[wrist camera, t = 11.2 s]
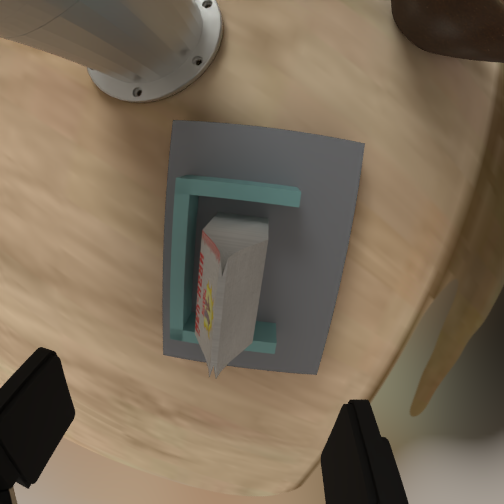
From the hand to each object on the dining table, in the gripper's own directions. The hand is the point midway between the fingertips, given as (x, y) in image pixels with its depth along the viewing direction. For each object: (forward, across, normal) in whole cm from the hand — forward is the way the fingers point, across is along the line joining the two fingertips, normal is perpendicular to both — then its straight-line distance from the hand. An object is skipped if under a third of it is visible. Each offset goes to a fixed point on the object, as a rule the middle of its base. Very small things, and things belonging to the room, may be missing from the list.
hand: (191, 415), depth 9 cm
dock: (+19, -1, 0) cm, 19 cm away
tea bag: (+16, 0, 0) cm, 16 cm away
